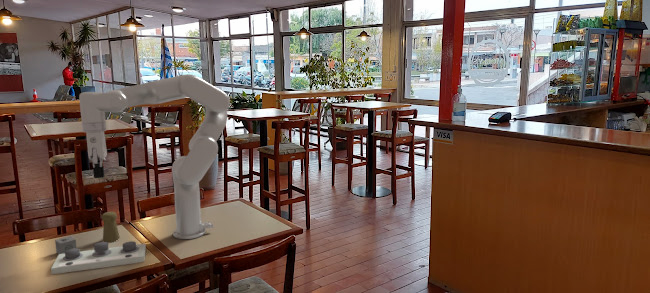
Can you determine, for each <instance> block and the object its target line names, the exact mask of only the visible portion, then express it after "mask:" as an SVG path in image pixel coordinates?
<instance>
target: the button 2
mask: <svg viewBox="0 0 650 293" xmlns="http://www.w3.org/2000/svg"><path fill="white" fill-rule="evenodd" d="M136 245H137V242H136V241H131V240H130V241H126V242H124V243H122V246H123V251H125V252H129V251H133V250H135V249H136Z"/></svg>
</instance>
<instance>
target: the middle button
mask: <svg viewBox="0 0 650 293" xmlns="http://www.w3.org/2000/svg"><path fill="white" fill-rule="evenodd" d="M108 248H109V243H107V242H103V241H99V242H96V243H94V244H93V250H94V251H95V252H104V251H107V250H108Z"/></svg>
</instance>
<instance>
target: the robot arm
mask: <svg viewBox="0 0 650 293" xmlns="http://www.w3.org/2000/svg"><path fill="white" fill-rule="evenodd" d="M78 98H79V99H78V100H79V109H80V116H81V117H80V118H81V119H80V120H81V127H82V133H86V143H87V144H86V146H87V147H86V148H87V154H88V155H87V156H88V159H89V160H90V161H92V170H93V178H94V179H101V178H103V179H104V178H105V170H104V169H105V168H104V162H103V160H105V159H106V157H107V156H108V150H107V145H106V144H107V143H106V142H107V141H106V137H105V136H106V135H105V132H106V131H107V125H106V124H107V123H106V122H107V121H106V113H120V112H123V111H124V110H125V109H127V108H132V107H135V106H140V105H141V106H142V105H158V104H164V103H169V102H173V101H176V100H181V99H182V100H183V99H185V98H189V99H190V100H192V101H194V102H196V103H197V104H199V105H201V106H203V107H204V108H205V116H204V118H203V120H202V121H201V124H200V125H199V127H198V129H197V130H196V131H195V133H194V134H193V136H192V137H191V139H190V141H189V143H188V151H189V152H188V153H187V155H182V156H179V157H177V158H176V159H175V160H174V162H173V163H172V166H171V175H172V181H173V182H172V183H173V190H174V210H175V211H174V212H175V224H176V229H174V230H173V232H172V236H173V238H176V239H179V240H191V239H197V238H200V237H202V236H204V235H205V234H206V229H212V228H213V229H214V223H213V222H210V221H206V222H203V220H202V213H201V197H200V194H201V193H200V191H201V190H200V181H201V180H202V179H203V178H204V176H205V175H206V173H207V172H208V171H209V169H210V167H211V166H212V164H213V162H214V161H215V159H216V158H217V155H218V152H219V146H218V145H219V144H218V142H217V141H218V140H219V139H220V136H221V135H222V133H223V131H224V129H225V128H226V125H227V122H228V109H229V107H230V104H231V100H230V97H229V95H228V94H227V93H226V92H225V91H223V90H222V89H219V88H218V87H216V86H214V85H212V84H211V83H209V82H207V81H206V80H204V79H202V78H201V77H199V76H197V75H195V74H182V75H177V76H173V77H172V76H171V77H168V78H161V79H158V80H151V81H147V82H144V83H141V84H135V85H131V86H126V87H121V88H115V89H112V90H109V91H107V92H100V91H85V92H81V93H79V97H78Z"/></svg>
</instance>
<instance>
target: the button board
mask: <svg viewBox="0 0 650 293" xmlns="http://www.w3.org/2000/svg"><path fill="white" fill-rule="evenodd" d="M146 250H147V247H146V243H138V244H137V243H136V249H135V250H133V251H129V252H125V251H123V245H122V246H114V247H108V250H107V251H104V252H95V251H94V249H89V250H83V251H81V250H80V256H79V257H77V258H74V259H66V258H65V253H64V254H57V257H56V259H55V261H54V263H53V264H52V266H51V268H50V269H51V271H50V272H51V275H55V274H56V275H57V274H65V273H70V272H77V271H85V270H94V269H100V268H108V267H116V266H123V265H124V266H125V265H130V264H138V262H139V263H144V262H145V261H144V260H145V259H146V252H147V251H146ZM143 261H144V262H143Z"/></svg>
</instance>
